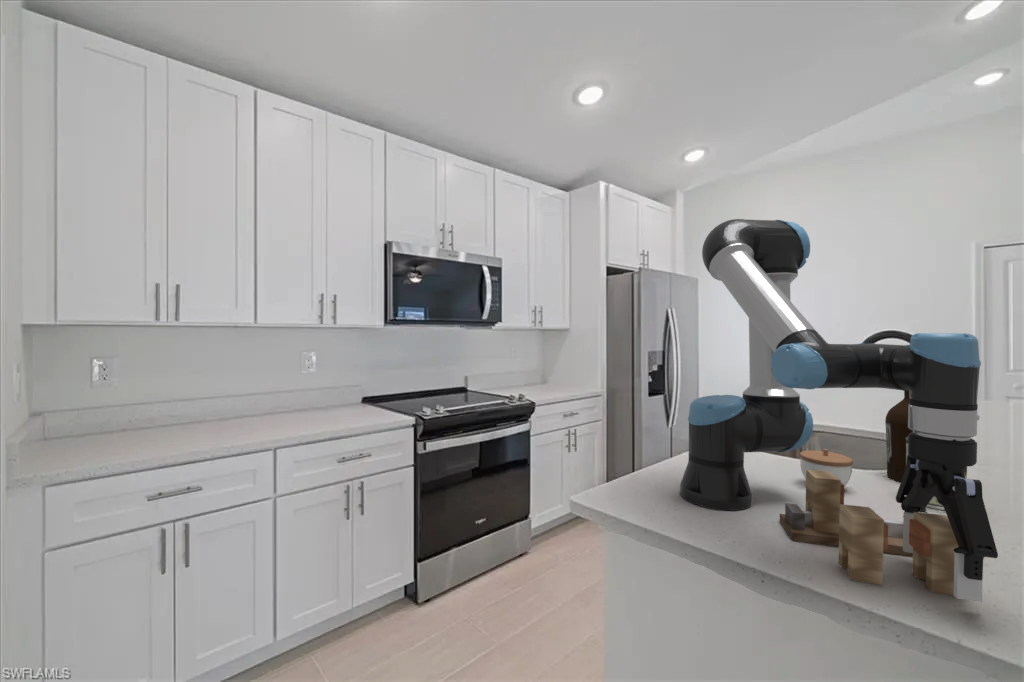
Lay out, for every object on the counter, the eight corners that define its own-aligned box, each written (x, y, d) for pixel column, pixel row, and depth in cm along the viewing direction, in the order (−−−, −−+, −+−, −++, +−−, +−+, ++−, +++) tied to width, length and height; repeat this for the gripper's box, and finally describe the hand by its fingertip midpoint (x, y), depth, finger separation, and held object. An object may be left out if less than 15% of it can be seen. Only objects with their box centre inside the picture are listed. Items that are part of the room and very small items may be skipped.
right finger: (924, 591, 66) (926, 524, 66) (906, 573, 71) (907, 511, 71) (965, 597, 65) (967, 529, 65) (943, 578, 70) (945, 515, 70)
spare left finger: (851, 580, 69) (852, 516, 69) (838, 563, 74) (839, 504, 74) (888, 585, 68) (890, 520, 68) (873, 568, 73) (874, 507, 73)
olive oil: (940, 480, 116) (942, 384, 115) (937, 490, 109) (939, 388, 108) (887, 471, 124) (889, 381, 123) (881, 479, 116) (883, 384, 116)
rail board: (792, 540, 82) (792, 516, 82) (779, 520, 91) (779, 499, 91) (971, 564, 74) (971, 537, 74) (938, 539, 83) (939, 515, 83)
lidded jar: (858, 497, 104) (859, 457, 104) (804, 491, 108) (805, 452, 108) (844, 482, 114) (844, 446, 114) (795, 477, 118) (795, 442, 118)
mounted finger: (814, 531, 83) (815, 477, 83) (805, 520, 88) (806, 469, 88) (844, 535, 81) (845, 480, 81) (833, 523, 86) (834, 472, 86)
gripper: (1041, 459, 55) (1036, 630, 55) (925, 420, 78) (922, 540, 79) (963, 453, 57) (959, 618, 57) (873, 418, 81) (871, 534, 81)
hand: (938, 573), depth 68 cm, fingers open, 13 cm apart
